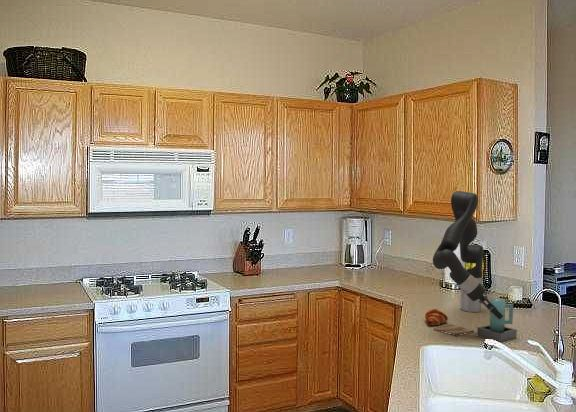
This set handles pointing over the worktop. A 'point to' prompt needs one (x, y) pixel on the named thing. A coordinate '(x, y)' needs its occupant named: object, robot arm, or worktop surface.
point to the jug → (500, 304)
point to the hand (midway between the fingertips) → (499, 315)
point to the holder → (497, 333)
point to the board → (454, 329)
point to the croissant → (435, 317)
